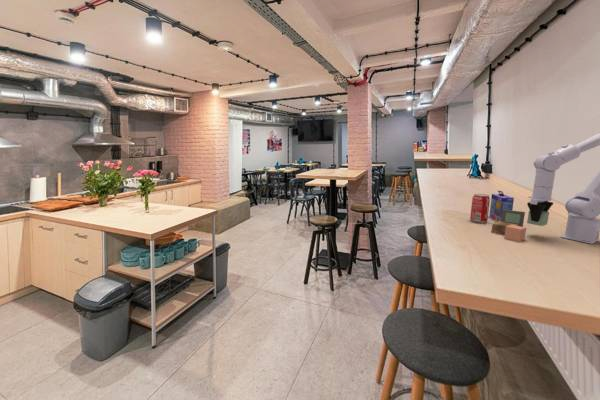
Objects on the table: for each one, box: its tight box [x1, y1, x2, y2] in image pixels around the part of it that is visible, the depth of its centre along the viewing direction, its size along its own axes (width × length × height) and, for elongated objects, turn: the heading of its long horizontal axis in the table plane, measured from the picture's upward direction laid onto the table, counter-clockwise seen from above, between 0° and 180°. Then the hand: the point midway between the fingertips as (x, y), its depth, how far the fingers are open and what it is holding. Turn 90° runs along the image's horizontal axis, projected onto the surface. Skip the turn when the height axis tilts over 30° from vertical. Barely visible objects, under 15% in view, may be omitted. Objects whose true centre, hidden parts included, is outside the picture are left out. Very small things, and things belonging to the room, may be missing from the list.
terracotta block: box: [503, 225, 527, 243], centre depth 113 cm, size 5×5×5 cm
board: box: [501, 209, 526, 227], centre depth 129 cm, size 5×8×8 cm, turn 51°
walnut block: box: [490, 221, 518, 236], centre depth 122 cm, size 7×7×4 cm
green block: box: [526, 210, 550, 227], centre depth 116 cm, size 5×5×5 cm
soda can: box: [470, 193, 491, 224], centre depth 138 cm, size 7×7×13 cm
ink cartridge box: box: [488, 190, 515, 222], centre depth 141 cm, size 10×6×14 cm, turn 174°
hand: (537, 220), depth 116 cm, fingers closed on green block, 5 cm apart
